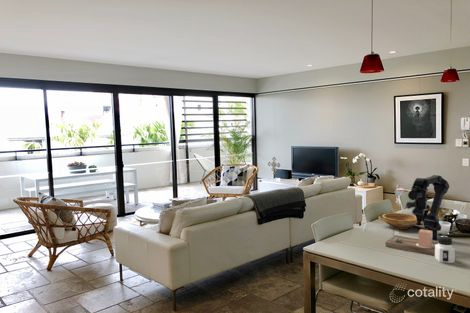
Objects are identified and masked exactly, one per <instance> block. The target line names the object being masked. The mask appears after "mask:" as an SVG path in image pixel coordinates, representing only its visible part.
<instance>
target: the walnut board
mask: <svg viewBox="0 0 470 313" xmlns="http://www.w3.org/2000/svg"><path fill="white" fill-rule="evenodd" d="M418 244H419V238H415V237H408V236H401V235H395V234H394V235H393V236H391V237H389V239H387V240H386V241H385V248H391V249H398V250H403V251H409V252H413V253H419V254H423V255H424V254H425V255H430V256H434V257H435V244H438V241H435V240H432V246H431V248H430V247H423V246H418Z"/></svg>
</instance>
